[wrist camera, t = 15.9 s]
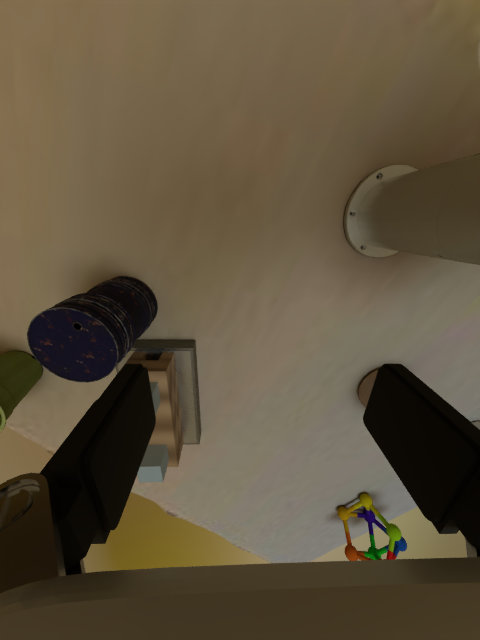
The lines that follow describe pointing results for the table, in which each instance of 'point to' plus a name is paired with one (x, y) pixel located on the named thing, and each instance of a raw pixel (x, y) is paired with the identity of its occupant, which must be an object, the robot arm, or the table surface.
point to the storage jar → (92, 329)
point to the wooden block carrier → (165, 403)
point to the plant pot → (16, 380)
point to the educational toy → (371, 532)
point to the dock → (178, 379)
